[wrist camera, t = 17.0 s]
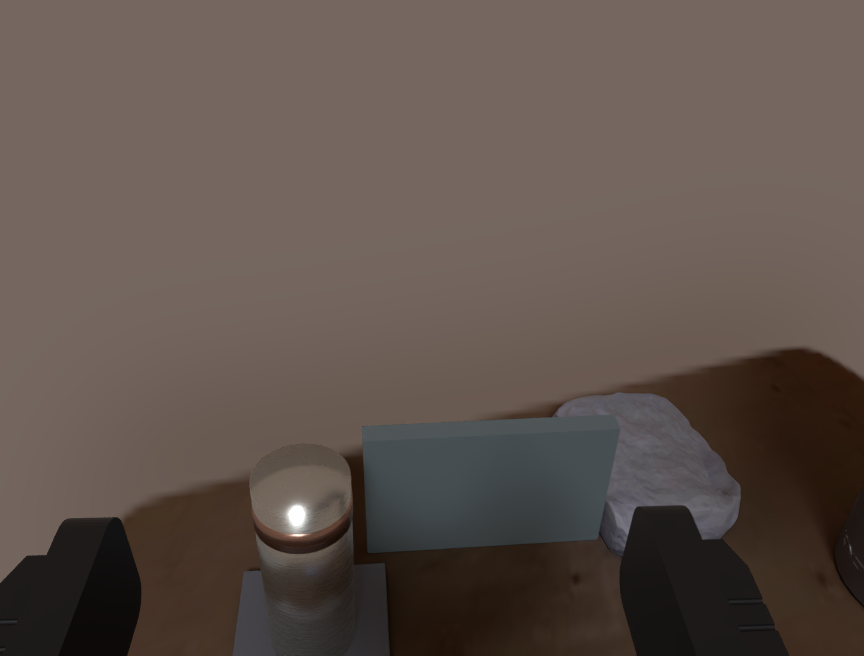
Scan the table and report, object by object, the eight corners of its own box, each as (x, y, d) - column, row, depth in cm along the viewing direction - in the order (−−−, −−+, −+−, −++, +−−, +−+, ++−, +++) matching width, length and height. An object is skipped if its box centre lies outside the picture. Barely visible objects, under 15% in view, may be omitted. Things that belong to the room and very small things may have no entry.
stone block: (650, 434, 58) (532, 437, 54) (675, 385, 55) (552, 384, 52) (741, 563, 49) (605, 576, 45) (776, 511, 46) (635, 520, 43)
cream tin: (356, 591, 43) (352, 441, 37) (356, 667, 39) (351, 513, 33) (272, 595, 42) (254, 444, 36) (264, 672, 38) (242, 518, 32)
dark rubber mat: (385, 571, 45) (385, 562, 44) (391, 704, 38) (391, 695, 38) (245, 580, 44) (243, 571, 44) (227, 717, 37) (225, 708, 37)
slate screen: (592, 524, 48) (614, 414, 43) (597, 539, 47) (620, 428, 42) (367, 537, 47) (362, 426, 42) (367, 553, 46) (362, 441, 41)
